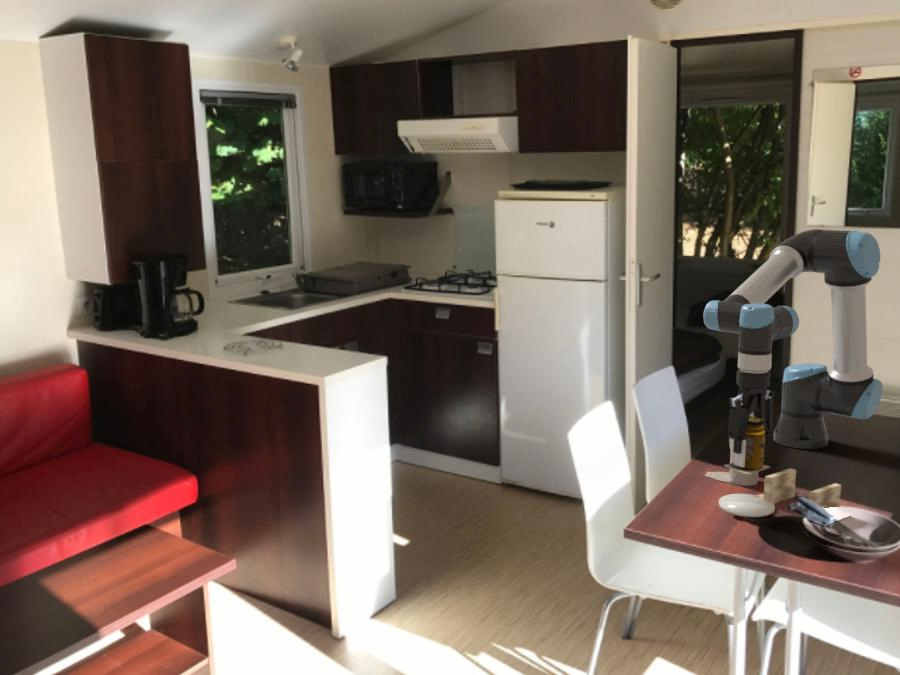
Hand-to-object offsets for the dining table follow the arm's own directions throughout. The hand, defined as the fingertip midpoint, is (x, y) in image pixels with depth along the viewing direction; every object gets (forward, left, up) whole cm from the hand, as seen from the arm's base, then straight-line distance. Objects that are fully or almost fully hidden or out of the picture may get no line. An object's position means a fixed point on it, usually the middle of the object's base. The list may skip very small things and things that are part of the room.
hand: (748, 462), depth 220 cm
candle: (-12, -15, -11) cm, 22 cm away
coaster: (0, 0, -11) cm, 11 cm away
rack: (-10, +8, -11) cm, 17 cm away
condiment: (+1, 0, -1) cm, 1 cm away
